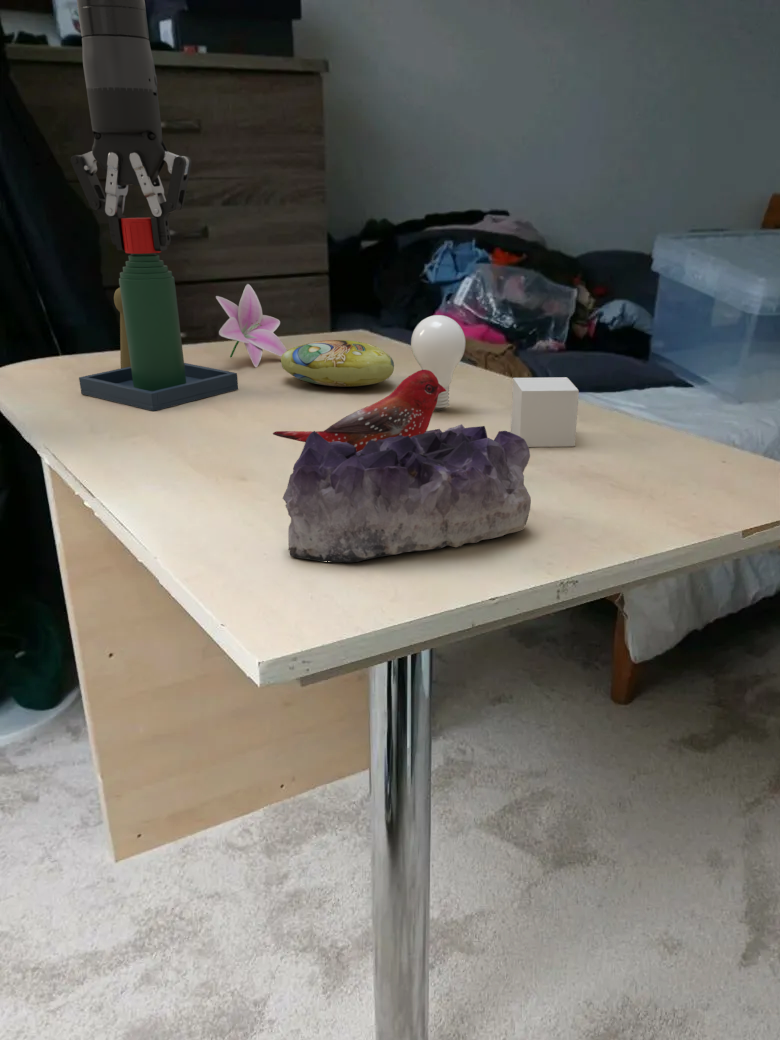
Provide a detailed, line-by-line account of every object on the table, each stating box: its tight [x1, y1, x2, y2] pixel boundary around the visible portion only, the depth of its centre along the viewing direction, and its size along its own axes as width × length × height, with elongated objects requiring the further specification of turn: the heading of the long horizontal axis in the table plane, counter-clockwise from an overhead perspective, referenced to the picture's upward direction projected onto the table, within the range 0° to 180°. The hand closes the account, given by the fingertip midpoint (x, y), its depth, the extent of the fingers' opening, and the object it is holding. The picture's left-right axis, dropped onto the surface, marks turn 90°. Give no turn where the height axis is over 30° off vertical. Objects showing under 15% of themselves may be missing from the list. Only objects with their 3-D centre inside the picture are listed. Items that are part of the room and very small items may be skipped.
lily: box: [215, 283, 288, 368], centre depth 135 cm, size 12×12×10 cm
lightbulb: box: [410, 314, 467, 412], centre depth 110 cm, size 6×6×11 cm
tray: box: [78, 362, 239, 412], centre depth 119 cm, size 14×14×2 cm
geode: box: [282, 423, 532, 564], centre depth 75 cm, size 20×12×10 cm, turn 119°
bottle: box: [118, 253, 186, 391], centre depth 115 cm, size 6×6×19 cm
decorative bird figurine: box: [272, 369, 446, 452], centre depth 86 cm, size 3×18×10 cm, turn 122°
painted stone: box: [280, 339, 395, 388], centre depth 123 cm, size 11×8×15 cm
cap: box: [121, 217, 162, 255], centre depth 111 cm, size 4×4×4 cm
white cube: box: [510, 376, 580, 448], centre depth 101 cm, size 6×6×6 cm
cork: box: [113, 287, 131, 369], centre depth 128 cm, size 6×6×11 cm
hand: (142, 249), depth 112 cm, fingers closed on cap, 4 cm apart
